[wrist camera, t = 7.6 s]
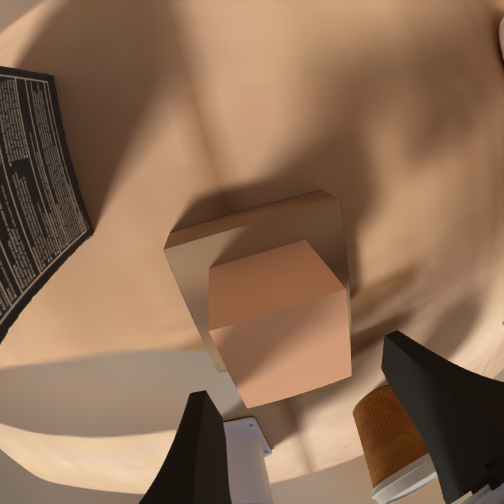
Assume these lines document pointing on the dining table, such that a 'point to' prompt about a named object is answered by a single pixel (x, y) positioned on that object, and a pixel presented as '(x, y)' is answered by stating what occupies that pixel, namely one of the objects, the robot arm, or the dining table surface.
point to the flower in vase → (501, 36)
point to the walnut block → (254, 247)
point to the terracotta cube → (279, 323)
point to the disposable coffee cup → (392, 447)
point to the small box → (34, 191)
